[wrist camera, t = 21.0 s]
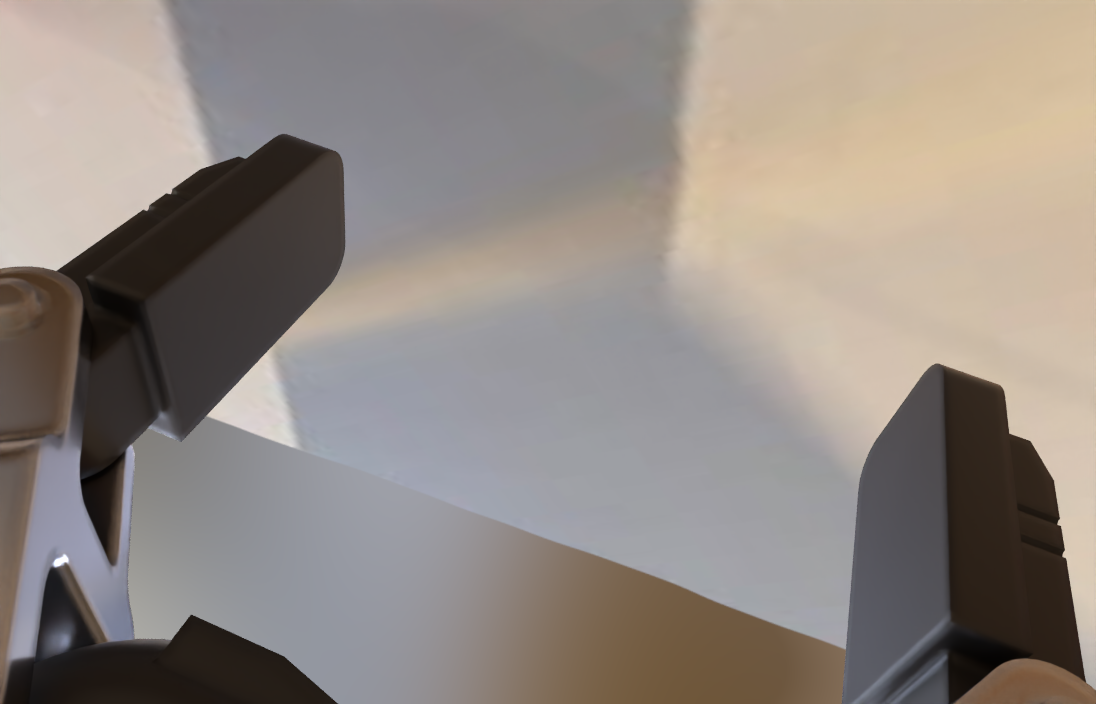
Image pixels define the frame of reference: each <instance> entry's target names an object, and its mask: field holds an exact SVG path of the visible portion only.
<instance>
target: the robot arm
mask: <svg viewBox="0 0 1096 704" xmlns="http://www.w3.org/2000/svg"><path fill="white" fill-rule="evenodd" d="M344 251H345V213H344V172H343V163H342V159H341V157H340V155H339V154H338V153H337V152H336V151H333V150H330V149H328V148H325V147H322V146H319V145H316V144H313V143H310V142H308V141H305V140H302V139H299V138H296V137H293V136H290V135H287V134H281V135H278V136H277V137H275V138H273V139H272V140H271V141H269V142H268V143H267V144H265V145H264V146H263V147H261V148H260V149H259V150H257V151H256V152H254V153H253V154H252V155H250V156H249V157H248V158H246V159H244V158H241V157H236V158H233V159H230V160H227V161H224V162H221V163H218V164H215V165H212V166H209V167H206V168H203V169H200V170H199V171H198V172H196V173H195V174H193V175H192V176H190V177H189V178H188V179H186V180H185V181H183V182H182V183H181V184H179V185H178V186H176V187H175V188H173V189H172V193H171V195H170V194H167V193H166V194H165V195H164V196H162V197H161V198H159V199H158V200H156V201H155V202H154V203H152V204H151V205H149V209H148V211H145V210H142V211H141V212H139V213H138V214H137V215H135V216H134V217H132V218H131V219H130V220H128V221H127V222H125V223H124V224H122V225H121V226H120V227H118V228H117V229H115V230H114V231H113V232H111V233H110V234H108V235H107V236H105V237H104V238H103V239H101V240H100V241H98V242H97V243H96V244H94V245H93V246H91V247H90V248H88V249H87V250H86V251H84V252H83V253H81V254H80V255H79V256H77V257H76V258H74V259H73V260H71V261H70V262H69V263H67V264H66V265H64V266H63V267H62V268H60V269H59V270H57V271H54V270H50V269H45V268H39V267H10V268H2V269H0V704H338V703H336V702H335V701H334V700H333V699H332V698H331V697H330V696H328V695H327V694H326V693H325V692H324V691H323V690H322V689H320V688H319V687H318V686H317V685H316V684H315V683H314V682H312V681H311V680H310V679H309V678H308V677H307V676H306V675H305V674H303V673H302V672H301V671H300V670H299V669H298V668H297V667H295V666H294V665H293V664H292V663H291V662H290V661H289V660H287V659H286V658H285V657H284V656H282V655H279V654H277V653H275V652H273V651H270V650H268V649H266V648H264V647H262V646H260V645H257V644H255V643H253V642H251V641H249V640H246V639H244V638H242V637H240V636H237V635H235V634H233V633H231V632H229V631H226V630H224V629H222V628H219V627H218V626H215V625H213V624H211V623H209V622H207V621H204V620H202V619H200V618H198V617H196V616H193V615H191V616H190V617H189V618H188V619H187V621H186V622H185V623H184V625H183V626H182V627H181V628H180V630H179V631H178V632H177V634H176V635H175V636H174V638H173V639H172V640H165V639H134V626H133V619H132V613H131V608H130V602H129V594H128V568H129V550H130V532H131V516H132V515H131V514H132V498H133V481H134V463H135V456H134V450H133V447H132V443H133V442H134V441H135V440H136V439H137V438H138V437H139V436H140V435H141V434H142V433H143V432H144V431H145V430H146V429H147V428H149V429H152V430H154V431H157V432H159V433H161V434H164V435H166V436H168V437H171V438H173V439H176V440H178V441H180V442H182V441H183V440H184V439H185V438H186V436H187V435H188V434H189V433H190V432H191V431H192V430H193V429H194V428H195V427H196V426H197V425H198V424H199V423H200V422H201V420H203V419H204V417H205V416H206V415H207V414H208V413H209V412H210V411H211V410H212V409H213V408H214V407H215V406H216V405H217V404H218V403H219V402H220V401H221V400H222V398H223V397H224V396H225V395H226V394H227V393H228V392H229V391H230V390H231V389H232V388H233V387H234V386H235V385H236V384H237V383H238V382H239V381H240V380H241V378H242V377H243V376H244V375H245V374H246V373H247V372H248V371H249V370H250V369H251V368H252V367H253V366H254V365H255V364H256V363H257V362H258V361H259V359H260V358H261V357H262V356H263V355H264V354H265V353H266V352H267V351H268V350H269V349H270V348H271V347H272V346H273V345H274V344H275V343H276V342H277V340H278V339H279V338H280V337H281V336H282V335H283V334H284V333H285V332H286V331H287V330H288V329H289V328H290V327H291V326H292V325H293V324H294V323H295V321H296V320H297V319H298V318H299V317H300V316H301V315H302V314H303V313H304V312H305V311H306V310H307V309H308V308H309V307H310V306H311V305H312V304H313V302H314V301H315V300H316V299H317V298H318V297H319V296H320V295H321V294H322V293H323V292H324V291H325V290H326V289H327V288H328V287H329V285H330V284H331V283H332V281H333V280H334V278H335V277H336V275H337V273H338V271H339V269H340V266H341V263H342V260H343V256H344ZM1059 519H1060V517H1059V511H1058V504H1057V498H1056V492H1055V485H1054V480H1053V478H1052V477H1051V475H1050V473H1049V472H1048V470H1047V468H1046V467H1045V465H1044V463H1043V462H1042V460H1041V458H1040V456H1039V455H1038V453H1037V451H1036V450H1035V448H1034V446H1033V445H1032V443H1031V441H1028V440H1026V439H1023V438H1020V437H1017V436H1014V435H1012V434H1009V428H1008V419H1007V410H1006V401H1005V394H1004V390H1003V388H1002V387H1001V386H1000V385H998V384H995V383H992V382H989V381H986V380H984V379H981V378H978V377H975V376H972V375H969V374H966V373H964V372H961V371H958V370H955V369H952V368H949V367H946V366H944V365H941V364H934V365H932V366H931V367H930V368H929V369H928V370H927V371H926V372H925V373H924V374H923V375H922V377H921V378H920V380H919V381H918V382H917V384H916V385H915V387H914V388H913V389H912V391H911V392H910V394H909V395H908V396H907V398H906V399H905V401H904V402H903V403H902V405H901V406H900V408H899V409H898V410H897V412H896V413H895V415H894V416H893V417H892V419H891V420H890V422H889V423H888V424H887V426H886V427H885V428H884V430H883V431H882V433H881V434H880V435H879V437H878V438H877V440H876V441H875V443H874V445H873V446H872V448H871V450H870V452H869V454H868V457H867V459H866V462H865V464H864V467H863V470H862V474H861V478H860V483H859V491H858V504H857V517H856V530H855V542H854V555H853V568H852V581H851V593H850V606H849V619H848V632H847V644H846V657H845V670H844V683H843V696H842V704H1096V690H1095V689H1093V688H1092V687H1091V686H1090V685H1088V684H1087V683H1086V680H1085V675H1084V668H1083V662H1082V656H1081V650H1080V643H1079V637H1078V631H1077V624H1076V618H1075V612H1074V605H1073V599H1072V593H1071V586H1070V580H1069V574H1068V567H1067V561H1066V558H1063V557H1062V554H1063V552H1064V551H1065V548H1064V542H1063V536H1062V529H1061V526H1059V525H1057V523H1058V520H1059Z"/></svg>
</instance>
